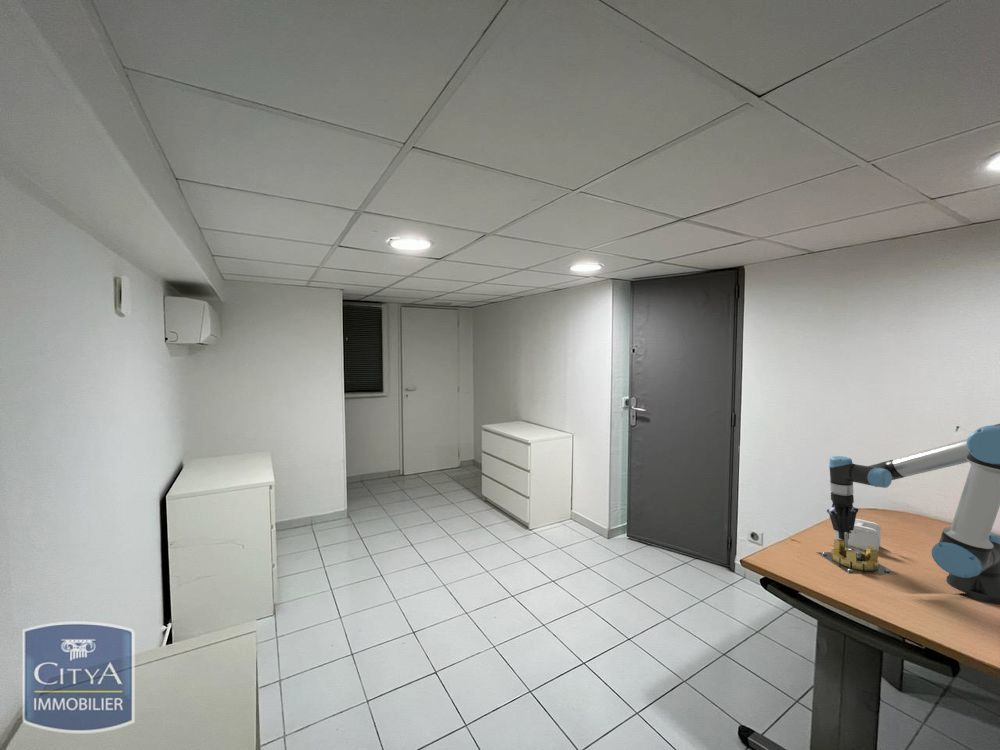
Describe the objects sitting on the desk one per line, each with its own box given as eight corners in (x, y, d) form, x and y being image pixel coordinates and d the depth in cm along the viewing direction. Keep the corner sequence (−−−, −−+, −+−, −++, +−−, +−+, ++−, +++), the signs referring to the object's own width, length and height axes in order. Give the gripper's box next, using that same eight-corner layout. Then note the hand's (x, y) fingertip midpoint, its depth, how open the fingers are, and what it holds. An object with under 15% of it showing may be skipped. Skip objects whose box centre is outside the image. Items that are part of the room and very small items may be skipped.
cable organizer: (883, 549, 180) (883, 524, 180) (877, 557, 174) (877, 530, 174) (841, 538, 193) (840, 514, 192) (833, 545, 186) (833, 520, 186)
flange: (896, 577, 158) (896, 560, 158) (848, 577, 159) (848, 559, 159) (858, 555, 176) (858, 539, 176) (816, 555, 177) (815, 539, 177)
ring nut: (873, 558, 169) (873, 543, 169) (882, 574, 157) (882, 557, 157) (829, 550, 177) (829, 535, 177) (834, 565, 165) (834, 549, 165)
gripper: (846, 488, 177) (849, 541, 178) (820, 491, 176) (823, 544, 176) (863, 494, 169) (866, 549, 170) (836, 497, 168) (839, 552, 169)
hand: (844, 546), depth 173 cm, fingers closed
